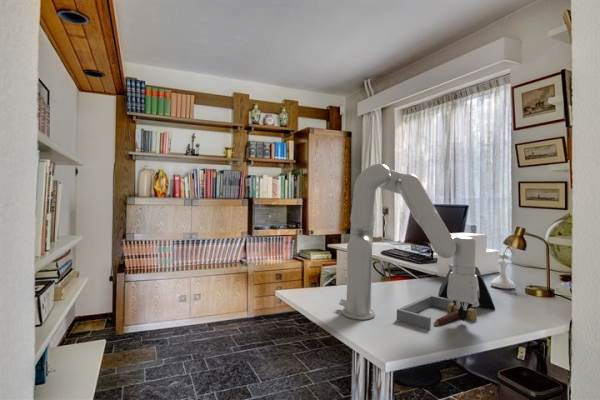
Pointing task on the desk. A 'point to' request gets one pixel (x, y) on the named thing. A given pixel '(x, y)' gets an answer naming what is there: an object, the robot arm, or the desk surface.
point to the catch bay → (411, 310)
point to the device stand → (484, 294)
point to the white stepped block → (483, 257)
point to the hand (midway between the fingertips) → (462, 319)
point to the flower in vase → (503, 275)
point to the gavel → (454, 315)
